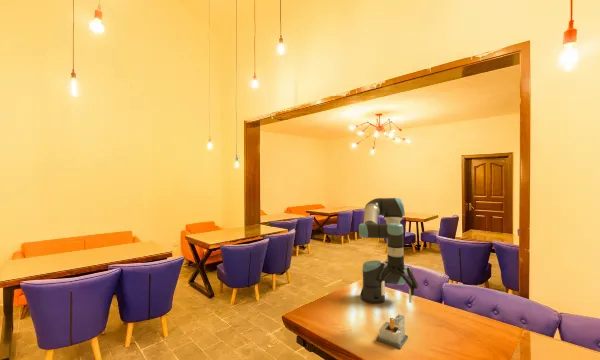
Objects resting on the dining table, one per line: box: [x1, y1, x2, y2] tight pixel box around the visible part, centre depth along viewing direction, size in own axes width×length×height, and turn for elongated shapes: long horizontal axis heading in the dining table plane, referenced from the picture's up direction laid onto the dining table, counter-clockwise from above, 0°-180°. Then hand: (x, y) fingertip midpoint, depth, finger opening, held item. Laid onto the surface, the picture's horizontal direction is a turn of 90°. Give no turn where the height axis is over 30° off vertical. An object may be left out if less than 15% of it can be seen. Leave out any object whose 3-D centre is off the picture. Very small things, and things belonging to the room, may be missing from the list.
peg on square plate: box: [375, 317, 409, 350], centre depth 128 cm, size 11×11×10 cm
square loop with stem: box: [378, 314, 406, 345], centre depth 131 cm, size 18×9×5 cm, turn 142°
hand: (396, 298), depth 134 cm, fingers open, 13 cm apart
